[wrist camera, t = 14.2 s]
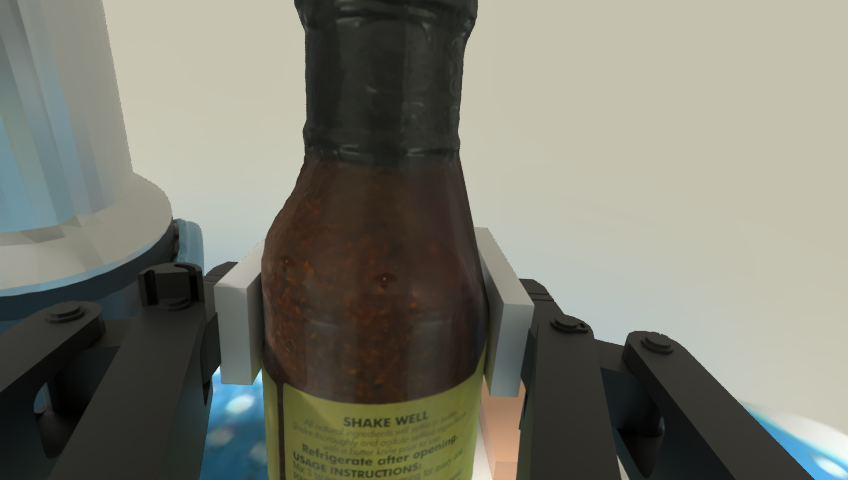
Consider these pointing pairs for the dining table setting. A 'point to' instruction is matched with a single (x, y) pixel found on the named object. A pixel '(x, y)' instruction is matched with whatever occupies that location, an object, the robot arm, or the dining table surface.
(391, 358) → the sauce bottle
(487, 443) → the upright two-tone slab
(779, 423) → the dining table surface
